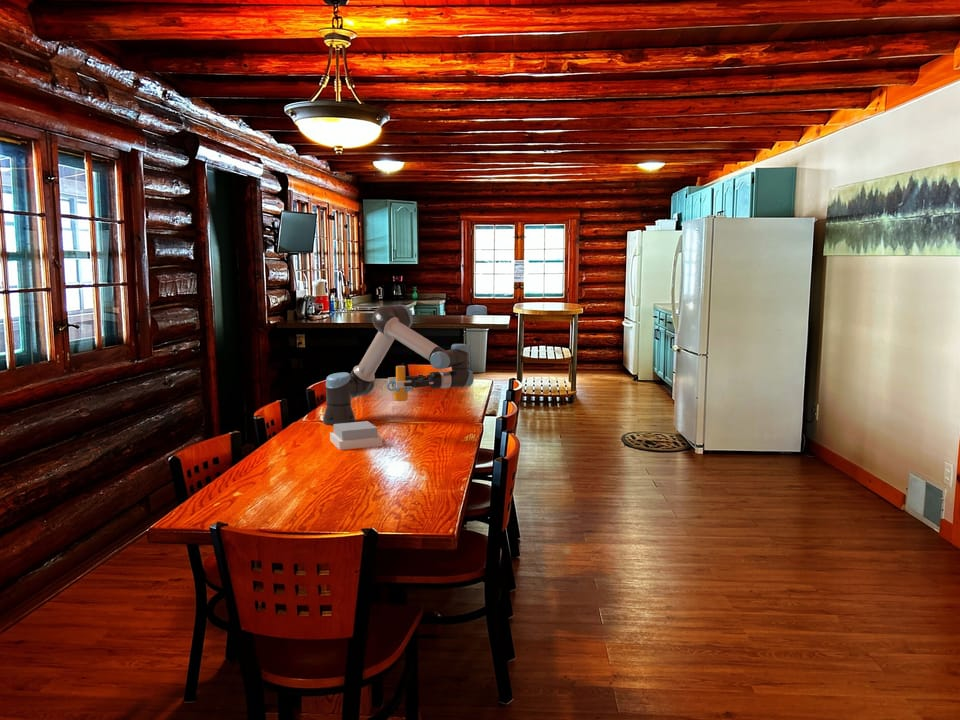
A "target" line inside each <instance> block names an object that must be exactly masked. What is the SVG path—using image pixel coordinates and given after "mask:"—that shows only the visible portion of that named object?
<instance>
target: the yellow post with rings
mask: <svg viewBox="0 0 960 720" xmlns="http://www.w3.org/2000/svg"><path fill="white" fill-rule="evenodd" d="M405 376H406V365H396V366H395V377H396V380H393V381H390V382H389V383H388V382H387V384H386V387H387V389H388V391H390V392H393V401H395V402H407V401H408V397H409V395H408V393H409V391H411V390H413V389H414V387H412V386H411V387H405V388H396V383H395V382H396V381H405ZM408 381H411V380H408ZM411 382H412V381H411ZM390 383H392V384H390ZM390 385H391V387H392V388H390Z"/></svg>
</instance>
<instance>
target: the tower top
mask: <svg viewBox="0 0 960 720" xmlns="http://www.w3.org/2000/svg"><path fill="white" fill-rule="evenodd" d="M332 426H333V432H334V434H335V435H336V436H337V437H339V438H340V439H341V440H342V441H344V440H354V439H365V438H375V437H378V435H379V433H378V432H379V431H378V430H379V429H378V427H377V426H375V425H374V424H373V423H371V422H370V421H368V420H365V421H355V422H352V423H340V424H333V425H332Z"/></svg>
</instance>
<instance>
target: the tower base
mask: <svg viewBox="0 0 960 720" xmlns="http://www.w3.org/2000/svg"><path fill="white" fill-rule="evenodd" d="M329 440H330V442H331V443H332V444H333V445H334V446H335V447H336V448H337V449H338V450H340V451H342V450H352V449H363V448H365V449H366V448H374V447H381V446H382V447H383V437H382V435H381V436H380V435H379V434H378V437H375V438H365V439H354V440H344V441H342V440H341V439H340V438H339V437H337V436H336V435H335V434H334V431H333V432H329Z"/></svg>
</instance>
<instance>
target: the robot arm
mask: <svg viewBox="0 0 960 720" xmlns="http://www.w3.org/2000/svg"><path fill="white" fill-rule="evenodd" d="M413 323H414V316H413V312H412V311H411V309H410V307H408V306H407V305H404V304H395V305H393V304H391V305H381V306H380V307H378V308H376V309H375V311H373V314H372V324H373V326H374V328H375V329H376V330H377V333H376V334H375V337H374V338H373V340H372V341H371V344H370V345H369V346H368V348H367V349H366V352H365V354H364V356H363V357H362V358H361V361H360V362H359V364H358V365H355V366H354V367H353V369H352V370H351V372H350V373H349V372H347V371H346V372H345V371H343V372H336V373H335V372H334V373H332V374H329V375H328V376H326V379H325V398H326V399H325V400H326V401H325V402H326V406H325V407H326V408H325V411H324V414H323V419H322V423H323V424H324V425H329V426H333V424H340V423H352V422H356V416H355V414H354V410H353V407H352V399H354V398H358V397H364V396H367V395H369V394H370V393H372V392H373V391H374V388H375V384H376V383H375V378H376V377H375V376H376V375H375V373H376V371H377V369H379V368H378V367H379V366H380V364H382V361H383V360H384V358H385V357H386V355H387V353H388V351H389V349H390V347H391V346H392V344H393V343H394V341H395V340H396V341H398V342H400V343H401V344H402V345H404V346H406V347H407V348H409V349H410V350H412V351H414V352H415V353H416V354H418V355H420V356H421V357H423V358H424V359H426V360H427V361H429V362H430V365H431V366H432V367H433V369H435V370H442V371H431V372H430V373H429V374H428V376H427V375H405V381H396V382H395V383H396V388H405V387H410V388H411V387H414V388H415V389H417V388H424V387H430V388H431V389H433V390H437V389H444V390H447V388H448V389H451V388H465V387H466V388H467V387H471V386H472V385H473V383H474V379H475V378H474V372H473V371H472V370H471V369H469V346H468V345H467V344H466V343H453V344H452V345H451V346H450V347H451V348H450V349H448V350H445V349H444V348H442V347H440V346H439V345H437V344H436V343H434V342H433V341H430V340H429V339H428V338H426V337H424V336H423V335H421V334H420V333H418V332H416V330H413V329H411V327H412V325H413ZM449 368H451V370H445V369H449ZM393 380H396V376H394V377H393V376H392V377H387V384H388V383H389V382H390V381H393ZM408 380H411V381H412V382H411V381H408ZM389 385H392V383H390V384H389ZM414 388H413V389H414Z"/></svg>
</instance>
